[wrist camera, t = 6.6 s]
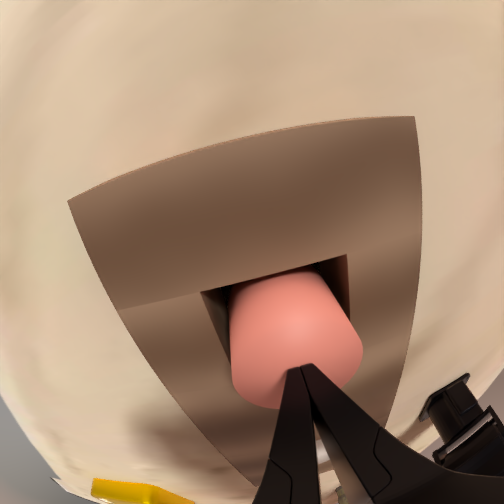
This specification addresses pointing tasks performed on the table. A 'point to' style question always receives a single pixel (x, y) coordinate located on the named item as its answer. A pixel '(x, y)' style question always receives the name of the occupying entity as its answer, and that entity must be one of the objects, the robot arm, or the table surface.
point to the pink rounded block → (287, 333)
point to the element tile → (133, 493)
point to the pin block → (262, 258)
